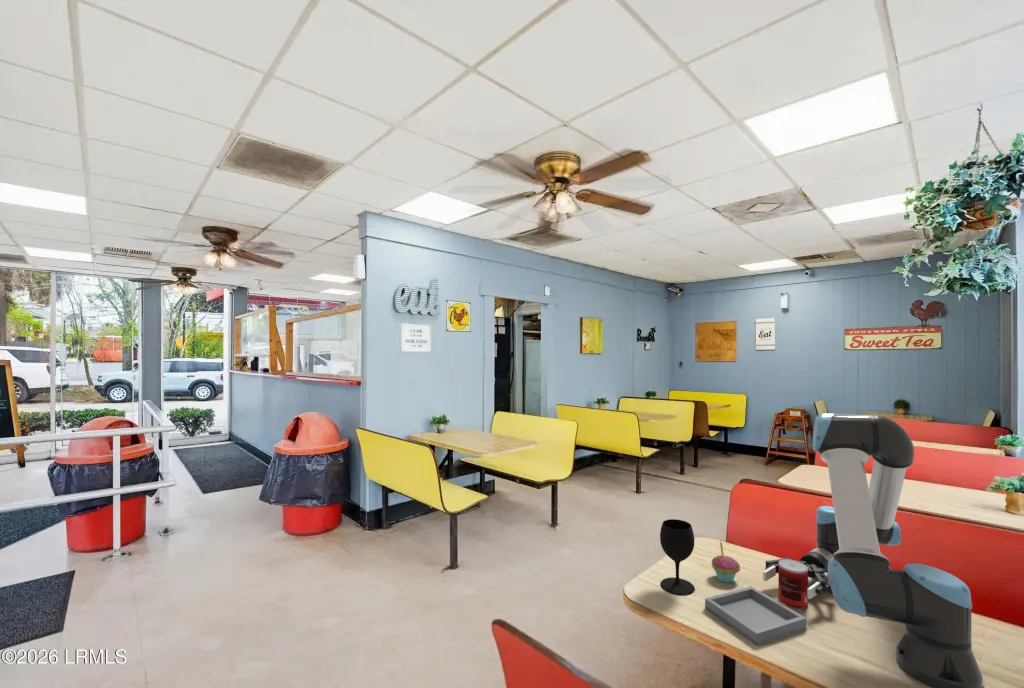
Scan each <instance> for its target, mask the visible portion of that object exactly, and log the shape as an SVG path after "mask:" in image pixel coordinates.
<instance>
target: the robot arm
mask: <svg viewBox="0 0 1024 688" xmlns="http://www.w3.org/2000/svg"><path fill="white" fill-rule="evenodd" d="M812 450H813V451H814V452H816V453H819V455H820V459H821V460H822V461H823V462H824V463H825V464H827V469H828V476H829V482H830V483H829V484H830V489H831V497H832V499H831V500H832V504H833V506H831V505H821V506H819V507H817V508H816V519H815V524H816V525H815V526H816V527H815V528H816V538H815V539H816V547H815V548H813V549H811V550H810V551H808V552H807V553H805V554H803V555H802V556H801V557H800V559H799V560H797V561H798V562H801V563H803V564H804V565H806V566H807V568H808V578H811V579H812V581H813V582H814V584H812V585H811V586H808V589H807V593H808V600H811V599H813V598H814V597H816V596H817V595H822V594H823V593H826V592H828V594H830V595H833V598H834V600H835V602H836V605H837V606H838V607H839V608H840V609H841V610H842V611H844V612H845V613H848V614H853V615H857V616H859V617H861V618H866V617H867V618H873V619H879V620H885V621H888V622H894V623H900V624H904V626H905V627H904V630H903V633H902V635H901V636H900V639H899V641H898V643H897V645H896V647H895V649H896V650H895V658H896V660H895V661H896V662H897V663H898V665H899V666H900V668H901V669H903V670H904V671H905V672H906V673H907V674H908V675H910V676H912V677H913V678H914V679H916V680H918V681H920V682H921V683H923V684H925V685H928V686H930V687H931V688H932V687H933V688H935V687H936V688H983V686H984V685H983V683H984V682H983V681H984V680H983V675H982V672H981V670H980V666H979V664H978V662H977V659H976V656H975V655H974V654H975V653H974V652H973V648H972V647H973V645H972V609H973V603H972V597H971V595H972V594H971V590H970V588H969V586H968V585H967V584H966V583H965V582H964V581H963V580H962V579H960V578H958V577H957V576H955V575H954V574H952V573H949V572H947V571H945V570H942V569H939V568H937V567H933V566H930V565H926V564H923V563H916V562H911V563H910V562H909V563H906V564H905V565H904V567H903V570H899V569H893V568H892V567H891V563H890V559H889V558H888V557H886V556H885V555H884V553H882V552H881V549H880V545H882V546H898V545H900V543H901V541H902V532H901V528H900V525H899V523H898V522H896V521H895V519H896V515H897V510H898V508H899V507H898V506H899V503H900V498H901V493H902V489H903V484H904V481H905V476H906V473H907V472H906V471H907V469H908V468H910V467H912V465H913V462H914V458H915V447H914V444H913V441H912V438H911V437H910V435H909V433H907V431H906V430H905V429H904V428H903V427H902V426H901V425H900V424H899V423H897V422H896V421H895V420H893V419H891V418H889V417H887V416H883V415H879V414H859V413H858V414H857V413H856V414H855V413H853V414H852V413H851V414H850V413H836V412H832V413H830V412H829V413H828V412H827V413H826V412H825V413H824V412H823V413H818V415H817V416H816V417H815V421H814V425H813V433H812ZM870 456H871V459H872V460H873V465H872V470H871V475H870V480H869V483H868V480H867V479H868V478H867V474H866V467H865V464H866V463H867V462H868V461H870ZM784 559H789V560H792V558H791V557H789V556H786V557H784V558H778V559H772V560H766V561H765V568H764V570H763V571H762V581H763V582H768V581H769V580H771V579H772V578H774V577H775V576H776V575H777V574H778V564H779V561H780V560H784ZM824 578H825V579H826V580H824ZM826 581H827V582H826ZM826 583H827V584H826Z"/></svg>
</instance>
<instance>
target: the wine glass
mask: <svg viewBox="0 0 1024 688" xmlns="http://www.w3.org/2000/svg"><path fill="white" fill-rule="evenodd" d="M659 532H660V533H659V540H660V541H659V542H660V546H661V548H662V550H663V552H664V553H665V555H666V556H667V557H668V558H670V560H672V561H673V562H674V567H675V577H666V578H664V579H662V580H661V581H660V586H661V588H662V589H663V590H664V591H665V592H667V593H669V594H673V595H675V596H676V595H677V596H688V595H692V594H693V593H694V592H695V591H696V590H695V589H696V588H695V585H694V584H693V583H692V582H690V581H689V580H686V579H684V578H680V563H681V562H683V561H685V560H686V559H688V558H689V557H690V556H691V555H692V553H693V551H694V547H695V535H694V530H693V527H692V524H691V523H689V522H688V521H685V520H681V519H673V518H672V519H665V520H663V521H662V524H661V527H660V531H659Z"/></svg>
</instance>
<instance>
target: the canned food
mask: <svg viewBox="0 0 1024 688" xmlns="http://www.w3.org/2000/svg"><path fill="white" fill-rule="evenodd" d="M783 559H784V558H783ZM798 561H799V560H794V559H791V560H789V559H784V560H780V561H779V564H778V573H777V574H778V575H777V577H778V579H777V580H778V598H779V601H780V603H781V602H782V604H783V605H784V606H786V607H789V608H794V609H805V608H807V606H808V605H809V599H808V593H807V589H808V588H809V577H808V568H807V566H806V565H804V564H803V563H801V562H798Z"/></svg>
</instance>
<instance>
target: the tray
mask: <svg viewBox="0 0 1024 688" xmlns="http://www.w3.org/2000/svg"><path fill="white" fill-rule="evenodd" d="M704 608H705V610H706V611H708V612H709V613H711V615H713V616H715V618H717V619H720V621H722V622H723V623H724V624H726V625H728V626H729V627H730V628H732V629H733V630H735V631H736V632H737V633H739V634H741V636H743V637H744V638H746V639H747V640H749V641H750V642H752V643H753V644H755V645H756V646H758V645H763V644H765V643H768V642H772V641H774V640H777V639H781V638H784V637H786V636H790V635H793V634H796V633H800V632H803V631H806V630H807V617H806V616H804V615H802V614H800V613H798V612H796V611H795V610H793V609H791V607H789V606H787V605H785V604H784V603H781V602H779V601H777V600H776V599H774V598H772V597H770V596H769V595H767V594H765V593H764V592H762V591H760V590H758V589H757V588H755V587H753V586H747V587H744V588H740V589H735V590H733V591H732V590H731V591H727V592H725V593H724V592H723V593H721V594H717V595H713V596H709V597H705V598H704Z"/></svg>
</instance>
